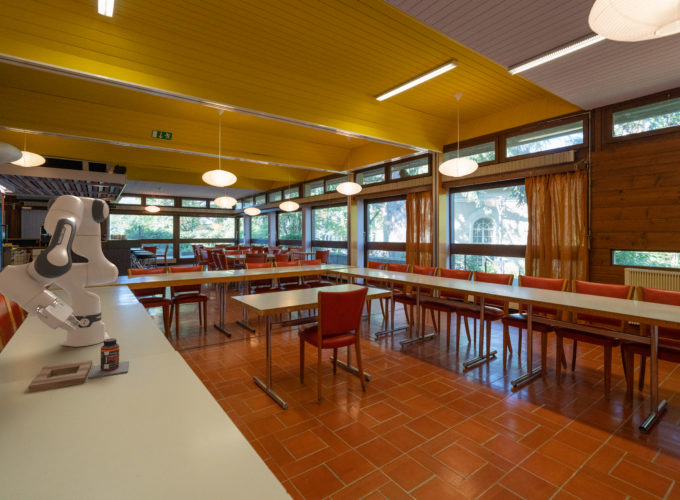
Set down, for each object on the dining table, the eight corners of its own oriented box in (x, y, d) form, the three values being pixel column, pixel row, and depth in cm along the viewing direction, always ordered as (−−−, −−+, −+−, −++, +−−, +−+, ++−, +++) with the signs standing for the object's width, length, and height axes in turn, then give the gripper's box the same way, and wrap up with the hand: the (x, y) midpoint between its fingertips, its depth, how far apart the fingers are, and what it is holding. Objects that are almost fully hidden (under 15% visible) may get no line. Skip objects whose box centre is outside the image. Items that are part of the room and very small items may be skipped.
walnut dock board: (43, 371, 124) (43, 366, 124) (92, 365, 132) (92, 360, 132) (28, 391, 108) (28, 385, 108) (84, 382, 116) (84, 377, 116)
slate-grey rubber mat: (93, 367, 129) (93, 366, 129) (129, 362, 135) (129, 360, 135) (88, 378, 119) (88, 377, 119) (127, 372, 125) (127, 371, 125)
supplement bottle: (109, 372, 123) (109, 342, 123) (96, 370, 125) (96, 341, 125) (123, 366, 129) (123, 338, 129) (110, 365, 131) (110, 336, 130)
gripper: (42, 302, 109) (79, 328, 114) (56, 292, 126) (87, 315, 132) (24, 316, 107) (63, 342, 112) (40, 304, 124) (73, 327, 129)
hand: (76, 327), depth 122 cm, fingers open, 8 cm apart
